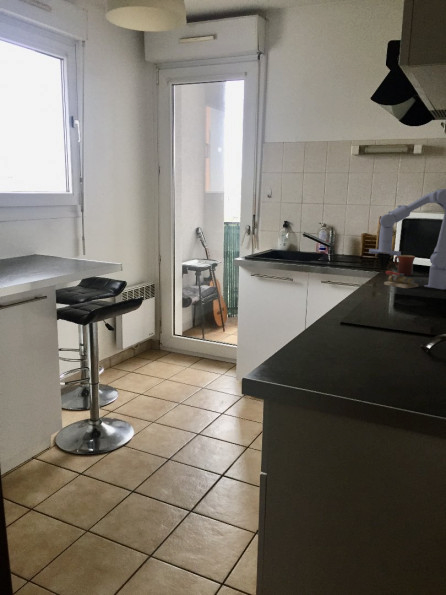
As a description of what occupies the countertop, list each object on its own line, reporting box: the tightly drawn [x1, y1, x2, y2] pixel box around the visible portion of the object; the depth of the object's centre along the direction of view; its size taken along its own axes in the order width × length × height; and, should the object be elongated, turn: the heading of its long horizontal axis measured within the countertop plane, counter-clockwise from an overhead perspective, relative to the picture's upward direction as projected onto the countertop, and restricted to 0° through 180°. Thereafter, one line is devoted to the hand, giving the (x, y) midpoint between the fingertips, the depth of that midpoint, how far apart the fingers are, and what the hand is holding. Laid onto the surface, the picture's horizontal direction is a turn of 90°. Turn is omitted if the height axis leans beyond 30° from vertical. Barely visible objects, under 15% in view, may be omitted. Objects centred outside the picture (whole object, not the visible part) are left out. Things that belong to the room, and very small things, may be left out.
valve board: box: [383, 275, 419, 289], centre depth 231 cm, size 12×9×4 cm
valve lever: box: [385, 270, 405, 277], centre depth 234 cm, size 9×2×1 cm, turn 37°
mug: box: [393, 254, 416, 277], centre depth 263 cm, size 12×9×10 cm
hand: (383, 270), depth 232 cm, fingers closed
